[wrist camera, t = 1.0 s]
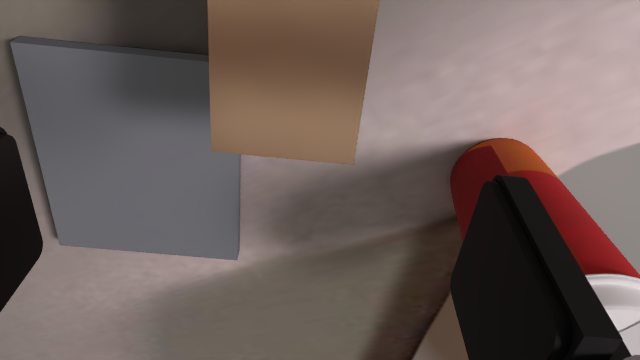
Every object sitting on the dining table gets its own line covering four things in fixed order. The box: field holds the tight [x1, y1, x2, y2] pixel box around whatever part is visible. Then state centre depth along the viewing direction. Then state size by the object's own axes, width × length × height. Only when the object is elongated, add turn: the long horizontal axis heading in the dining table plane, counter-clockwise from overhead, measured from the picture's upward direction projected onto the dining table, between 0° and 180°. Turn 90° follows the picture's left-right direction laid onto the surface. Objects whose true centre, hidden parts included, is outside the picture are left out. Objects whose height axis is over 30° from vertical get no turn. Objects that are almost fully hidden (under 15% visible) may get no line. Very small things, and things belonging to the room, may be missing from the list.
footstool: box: [207, 0, 379, 165], centre depth 22 cm, size 10×6×8 cm, turn 174°
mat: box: [10, 36, 241, 260], centre depth 31 cm, size 14×12×1 cm
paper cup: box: [450, 138, 640, 356], centre depth 26 cm, size 8×8×14 cm
